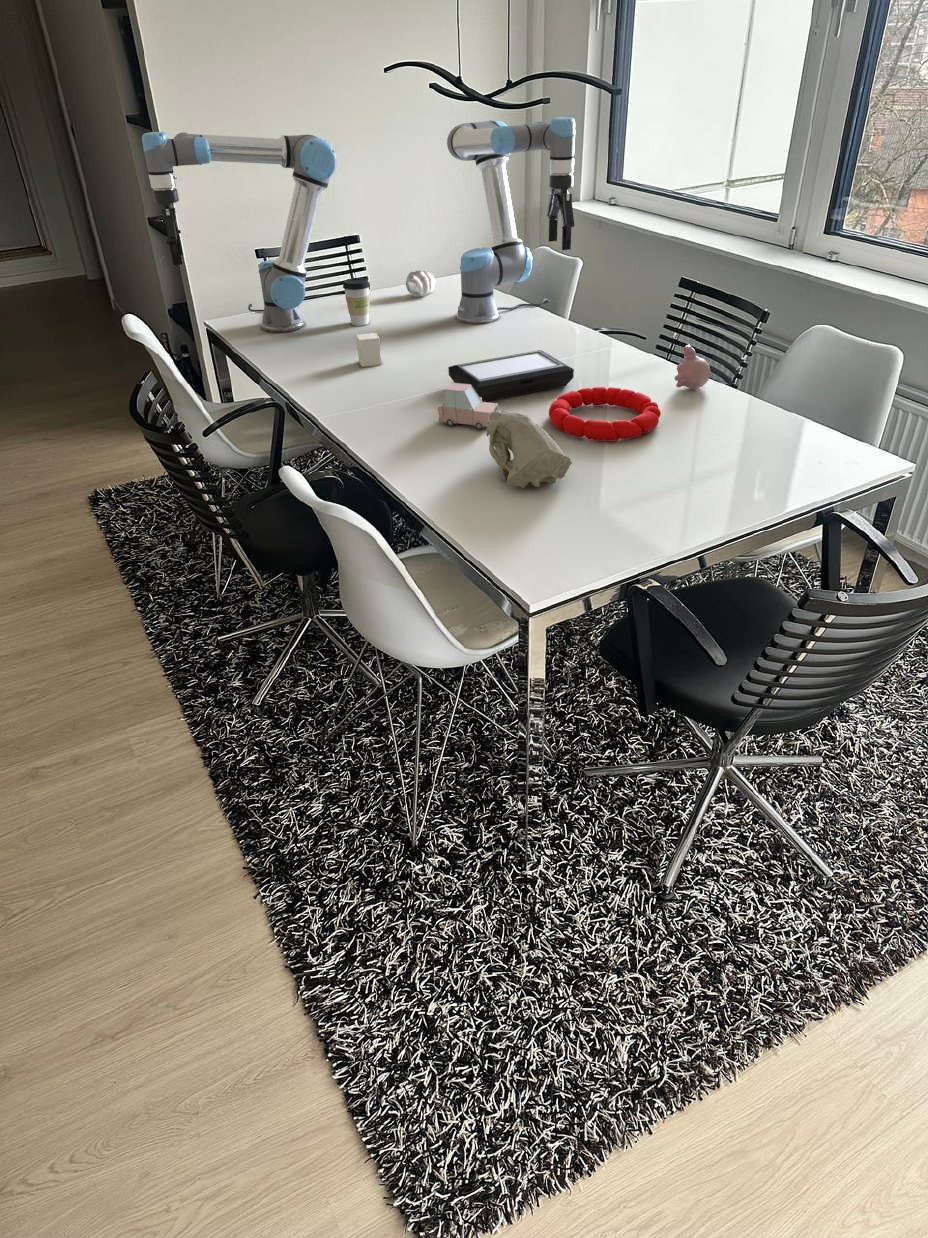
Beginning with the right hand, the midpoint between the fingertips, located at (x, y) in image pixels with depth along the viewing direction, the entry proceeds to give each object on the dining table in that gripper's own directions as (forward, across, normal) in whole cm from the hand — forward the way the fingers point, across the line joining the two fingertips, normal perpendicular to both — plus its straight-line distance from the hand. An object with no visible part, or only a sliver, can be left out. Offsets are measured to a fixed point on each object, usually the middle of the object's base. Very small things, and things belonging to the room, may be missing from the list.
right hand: (559, 245), depth 292 cm
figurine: (+29, -62, -20) cm, 72 cm away
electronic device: (+29, -43, +29) cm, 60 cm away
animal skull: (+29, -101, +43) cm, 114 cm away
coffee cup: (+29, +37, +64) cm, 79 cm away
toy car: (+29, -68, +48) cm, 88 cm away
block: (+29, -8, +67) cm, 73 cm away
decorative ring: (+29, -78, +13) cm, 85 cm away
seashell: (+29, +65, +34) cm, 79 cm away
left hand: (0, +25, +122) cm, 125 cm away
